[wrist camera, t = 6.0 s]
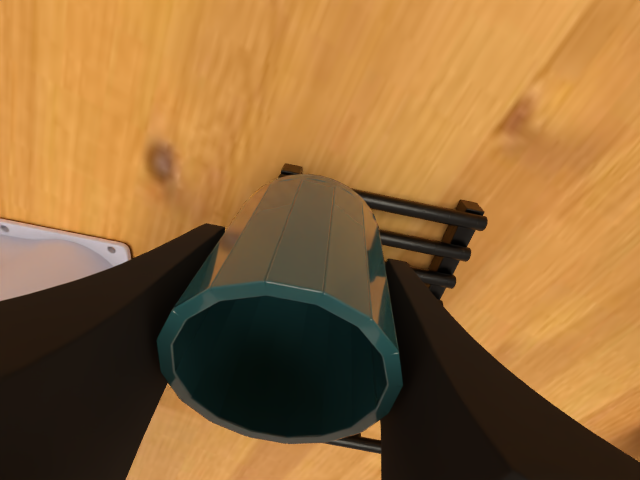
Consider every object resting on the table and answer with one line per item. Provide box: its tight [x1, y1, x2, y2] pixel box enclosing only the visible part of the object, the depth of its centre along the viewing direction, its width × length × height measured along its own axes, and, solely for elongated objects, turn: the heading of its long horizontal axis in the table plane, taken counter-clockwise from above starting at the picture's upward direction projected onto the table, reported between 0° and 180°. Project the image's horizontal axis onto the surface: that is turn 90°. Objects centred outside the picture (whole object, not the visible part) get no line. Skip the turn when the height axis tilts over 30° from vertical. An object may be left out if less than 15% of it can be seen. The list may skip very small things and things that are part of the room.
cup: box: [156, 174, 403, 444], centre depth 9 cm, size 5×5×6 cm
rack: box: [278, 164, 487, 454], centre depth 19 cm, size 11×15×7 cm
